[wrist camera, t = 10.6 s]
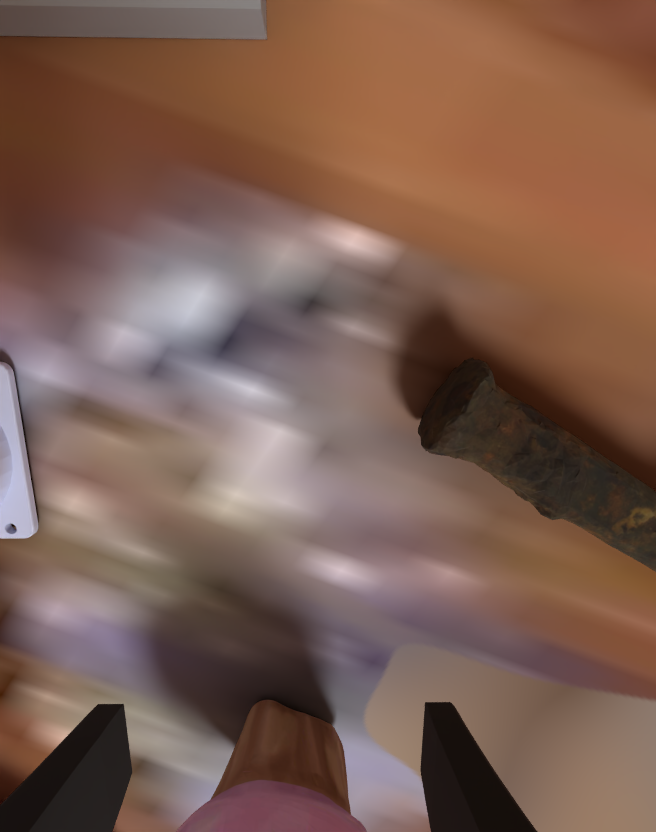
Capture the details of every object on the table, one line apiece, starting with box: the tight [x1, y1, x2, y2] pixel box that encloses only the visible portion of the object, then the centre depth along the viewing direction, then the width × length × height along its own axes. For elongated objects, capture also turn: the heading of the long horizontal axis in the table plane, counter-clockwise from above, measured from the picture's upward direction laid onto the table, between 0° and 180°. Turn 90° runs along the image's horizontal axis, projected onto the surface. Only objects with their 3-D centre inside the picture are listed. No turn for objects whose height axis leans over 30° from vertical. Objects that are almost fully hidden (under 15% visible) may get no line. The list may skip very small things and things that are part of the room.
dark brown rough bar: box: [418, 358, 656, 572], centre depth 17 cm, size 19×4×5 cm, turn 56°
